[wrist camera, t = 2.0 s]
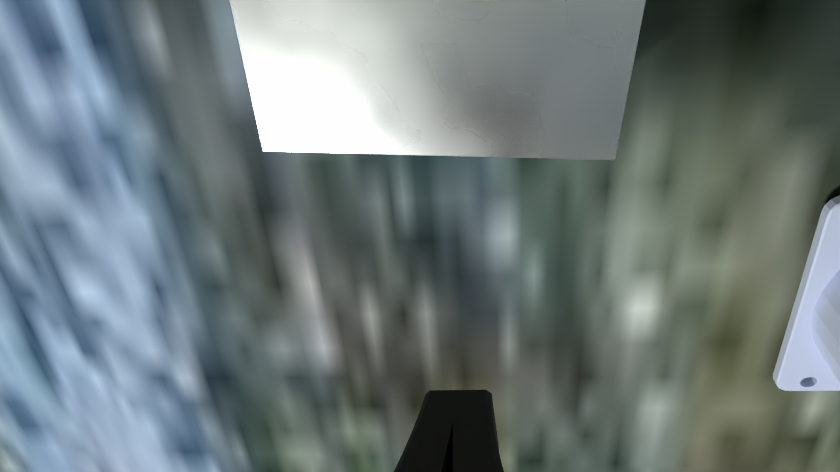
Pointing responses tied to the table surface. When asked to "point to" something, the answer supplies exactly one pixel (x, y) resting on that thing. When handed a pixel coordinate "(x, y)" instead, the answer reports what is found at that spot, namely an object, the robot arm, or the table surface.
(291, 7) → the aluminium block
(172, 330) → the table surface
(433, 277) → the table surface
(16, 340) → the table surface
